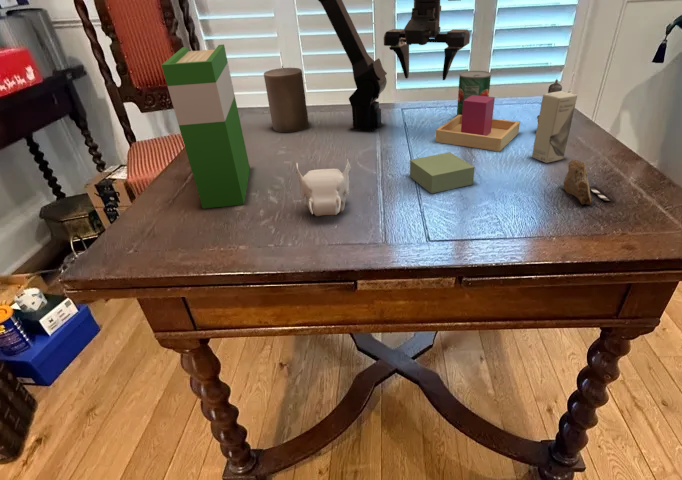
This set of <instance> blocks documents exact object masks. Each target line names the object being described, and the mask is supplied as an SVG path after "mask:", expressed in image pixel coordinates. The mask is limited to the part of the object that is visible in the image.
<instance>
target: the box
mask: <svg viewBox="0 0 682 480" xmlns="http://www.w3.org/2000/svg"><path fill="white" fill-rule="evenodd" d="M577 98H578V94H575V93H571V92H567V91H564V90H562V91H558V92H552V93H548V92H547V93H543V94H542V98H541V104H540V110H539V114H538V115H539V120H538V119H537V126H536V131H535V137H534V143H533V148H532V153H531V154H532V155H531V157H532V158H533V159H536V160H538V161H540V162H543V163H545V164H548V163H552V162H556V161H561V160H564V158H565V153H566V151H567V150H566V149H567V145H568V140H569V139H568V138H569V135H570V132H571V131H570V130H571V126H572V122H573V117H574V112H575V107H576V103H577V100H578V99H577Z"/></svg>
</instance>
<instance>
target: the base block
mask: <svg viewBox="0 0 682 480" xmlns="http://www.w3.org/2000/svg"><path fill="white" fill-rule="evenodd" d="M475 169H476V167H475V166H474V165H473V164H471V163H470V162H468V161H465V159H462V158H461V157H459V156H457V155H456V154H454V153H453V152H451V151H449V152H443V153H439V154H434V155H427V156H424V157H418V158H414V159H413V158H412V159H410V160H409V178H411V179H412V180H413V181H415V182H416V183H417V184H419V186H421V187H422V188H423V189H424V190H426V191H427V192H429V193H430V194H436V193H441V192H445V191H450V190H454V189H459V188H463V187H467V186H472V185H474V179H475V178H474V177H475Z"/></svg>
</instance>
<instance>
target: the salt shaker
mask: <svg viewBox="0 0 682 480" xmlns="http://www.w3.org/2000/svg"><path fill="white" fill-rule="evenodd" d="M554 81H555V82H553V83H551V84H550V85H549V86H548V88H547V93H552V92H558V91H563V86H562V84H561V83H559V80H558V78H556V79H555V80H554ZM539 115H540V114H538V115H537V116H536V119H537V121H538V120H539Z"/></svg>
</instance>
